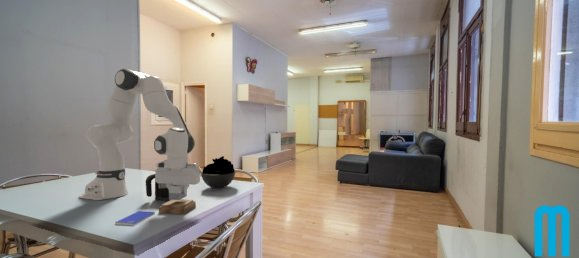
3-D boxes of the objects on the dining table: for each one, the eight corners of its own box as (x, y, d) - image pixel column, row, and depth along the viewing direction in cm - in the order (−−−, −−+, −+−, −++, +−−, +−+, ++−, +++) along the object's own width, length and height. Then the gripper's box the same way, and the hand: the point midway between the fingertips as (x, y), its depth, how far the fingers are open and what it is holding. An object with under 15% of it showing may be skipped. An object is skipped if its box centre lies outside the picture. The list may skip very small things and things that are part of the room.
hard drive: (134, 223, 98) (154, 211, 110) (115, 221, 99) (137, 210, 111) (134, 226, 98) (154, 215, 110) (115, 225, 99) (137, 214, 111)
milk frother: (165, 194, 139) (165, 168, 139) (188, 197, 134) (187, 170, 134) (142, 202, 126) (142, 172, 126) (166, 206, 121) (166, 175, 120)
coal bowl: (217, 194, 140) (217, 161, 140) (194, 189, 150) (194, 158, 150) (242, 186, 157) (242, 156, 157) (219, 182, 168) (219, 154, 167)
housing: (176, 195, 119) (176, 182, 119) (186, 196, 118) (186, 182, 118) (169, 199, 113) (168, 185, 113) (179, 200, 112) (179, 186, 112)
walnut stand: (158, 213, 111) (158, 205, 111) (172, 205, 121) (172, 198, 121) (184, 214, 110) (184, 206, 110) (195, 206, 120) (195, 199, 120)
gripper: (202, 162, 117) (202, 192, 117) (161, 161, 119) (162, 190, 120) (195, 165, 111) (196, 196, 111) (152, 163, 113) (153, 194, 114)
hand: (178, 193), depth 115 cm, fingers closed on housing, 5 cm apart
